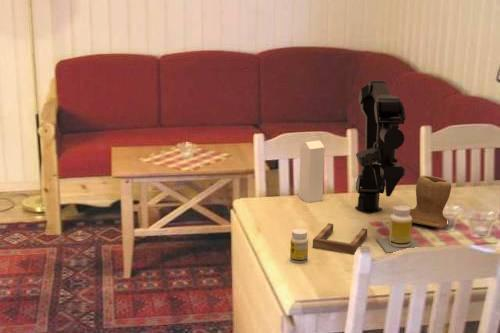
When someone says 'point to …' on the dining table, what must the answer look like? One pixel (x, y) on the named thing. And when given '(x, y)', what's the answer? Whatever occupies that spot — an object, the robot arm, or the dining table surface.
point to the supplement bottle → (299, 246)
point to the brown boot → (431, 201)
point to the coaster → (390, 249)
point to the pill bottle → (400, 226)
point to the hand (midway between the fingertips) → (383, 191)
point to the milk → (311, 170)
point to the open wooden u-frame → (337, 246)
